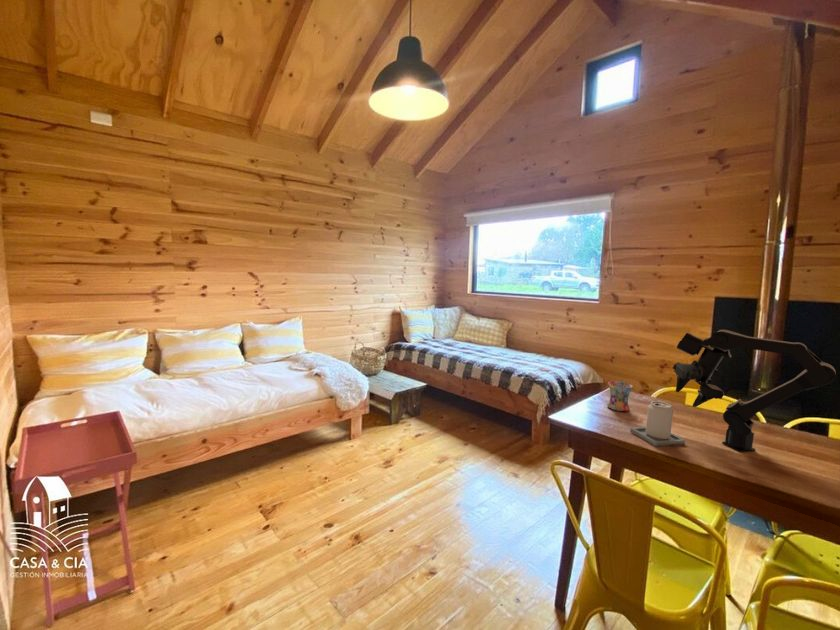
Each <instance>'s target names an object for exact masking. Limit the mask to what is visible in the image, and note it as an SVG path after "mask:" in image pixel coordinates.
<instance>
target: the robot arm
mask: <svg viewBox="0 0 840 630" xmlns="http://www.w3.org/2000/svg"><path fill="white" fill-rule="evenodd" d="M712 346H713V347H712ZM676 349H677V350H679V351H680V352H683V353H686V354H688V355H690V356H692V357H694V356H699V355H700V354H701V355H700V356H699V358H698V359H697V360H692V362H691V363H683V362H676V363H674V364H673V366H672V369H673V372H674V373H675V375H676V386H675V393H680V392H681V390H683V389H684V387H686V385H688V383H689V382H690V381H692V380H693V381H694V382H695V383H696V384H698V385H699V389H697V393H698V395H696V397H695V400H693V402H692V403H693V404H692V405H691V406H692V407H693V408H697V407H698V406H701V405H702V404H704V403H706V402H708V401H710V400H713V399H716V400H718V399H719V400H722V398H723V397H724V396H725V392H724V390H723V389H721V388H720V387H718V386H717V385H715V384H710V383H712V381H713V380H712V379H711V377H712V376H713V374H714V373H715V374H716V373H718V372H719V370H718V369H717V367H718V366H719V364H720V363H721V361H722V360H723V358H725V359H731V358H732V354H731V352H730V349H750V350H754V351H755V350H756V351H762V352H767V353H776V354H780V355H781V354H783V355H788V356H793V357H794V358H795V359H796V361H797V362H799V364H800V365H801V366H802V367H803V371H801V372H800V373H799V374H797V375H796V377H794V378H792V379H791V380H788V381H786V382H785V383H783V384H781V385H778V386H777V387H775V388H773V389H771V390H768V391H767V392H764V393H762V394H760V395H758V396H757V397H754V398H753V399H751V400H747V401H743V400H742V399H741V398H739V399H738V400H736V401H734V402H732V403H729V404H728V405H727V406H726V408H725V410H724V412H723V415H722V418H723V421H724V422H725V423H726V424H727V425H728V426H727V429H726V432H725V439H724V440H725V441H722V442H721V444H723V445H725V446H727V447H729V448H732V449H733V450H736V451H737V452H754V451H756V448H754V447H753V443H754V437H755V433H754V432H752V430H753V428H754V426H755V423H754V421H753V420H752V418H753V417H755V416H756V414H758V413H760V412H761V411H764V410H766V409H767V408H770V407H772V406H774V405H776V404H779V403H781V402H782V401H785V400H786V399H787V400H788V399H789V398H791V397H793V396H795V395H797V394H799V393H801V392H803V391H807V390H811V389H816V388H821V387H823V386H828V385H830V384H832V383H834V382H835V380H836V379H837V373H836V369H835V367H834V366H833V365H831V364H830V363H827V362H824V361H822V360H821V359H820V358H819V357H818V356H816V354H814V353H813V352H812V351H811V350H810V349H809V348H808V347H807V346H806V344H804V343H803V342H799V341H798V342H797V341H796V342H791V341H785V340H777V339H770V338H762V337H754V336H749V335H745V334H743V333H742V334H741V333H738V332H737V331H736V332H735V331H732V330H728V329H719V330H718V331H716V332H714V333H713V334H711V336H710V337H705V338H704V339H703V338H700V337H698V336H695V335H693V334H692V333H691V332H686V333H685V334H684V335H683V337H682V339H680V341H678V343H677V345H676ZM725 349H726V350H725ZM702 350H703V351H702Z"/></svg>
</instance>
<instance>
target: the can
mask: <svg viewBox="0 0 840 630" xmlns="http://www.w3.org/2000/svg"><path fill="white" fill-rule="evenodd" d="M672 407H673V406H672V404H669V403H667V402H666V401H665V402H664V401H657V400H654V401H653V400H652V401H651V402H650V404H649V405H647V414H646V422H645V427H646V430H645V432H646V433H647V434H648V436H650V437H652V438H654V439H658V440H667V439H668V438H670V435H671V433H672V427H673V426H672V425H673V417H674V409H673V408H672Z"/></svg>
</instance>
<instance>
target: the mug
mask: <svg viewBox="0 0 840 630" xmlns="http://www.w3.org/2000/svg"><path fill="white" fill-rule="evenodd" d="M607 384H608V387H609V393H610V394H609V395H610V396H609V400H608V402H607V404H606V405H607V407H608V408H610V409H612V410H614V411H617V412H627V411H629V410H630V406H629V396H630V393H631V391H632V389H633V387H634V386H633V385H632V384H630V383H627V382H624V381H616V380H613V381H612V380H611V381H608V382H607Z"/></svg>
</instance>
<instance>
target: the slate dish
mask: <svg viewBox="0 0 840 630" xmlns="http://www.w3.org/2000/svg"><path fill="white" fill-rule="evenodd" d="M645 430H646V426H641V427H630V433H631V434H633V435H635V436H637V437H638V438H640V439H642V440H644V441H645V442H646V443H649V444H650V445H651V446H654V447H655V448H657V447H669V446H683V445H685V443H686V439H684V438H682V437H679V436H678V435H676V434H674V433H673V432H671V435H670V438H668V439H667V440H658V439H654V438H652V437H650V436H648V434H647V433H646V432H645Z"/></svg>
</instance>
